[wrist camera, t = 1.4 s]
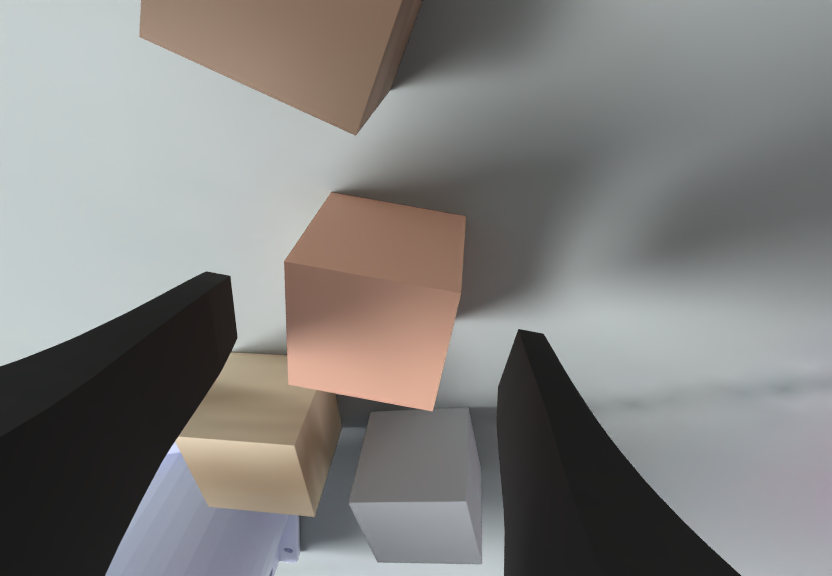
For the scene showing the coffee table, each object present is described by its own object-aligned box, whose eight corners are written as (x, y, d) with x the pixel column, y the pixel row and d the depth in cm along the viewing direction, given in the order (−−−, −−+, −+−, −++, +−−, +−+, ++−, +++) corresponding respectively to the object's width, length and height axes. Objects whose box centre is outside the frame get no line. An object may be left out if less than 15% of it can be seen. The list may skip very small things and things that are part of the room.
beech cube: (342, 426, 20) (314, 517, 16) (253, 419, 20) (208, 507, 17) (329, 356, 17) (294, 445, 14) (228, 350, 18) (172, 436, 15)
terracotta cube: (442, 319, 16) (432, 411, 12) (328, 299, 16) (288, 384, 13) (466, 215, 13) (461, 293, 10) (331, 191, 14) (284, 261, 10)
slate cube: (481, 467, 20) (481, 564, 17) (393, 470, 21) (377, 562, 18) (468, 405, 18) (466, 501, 15) (370, 410, 19) (348, 502, 16)
